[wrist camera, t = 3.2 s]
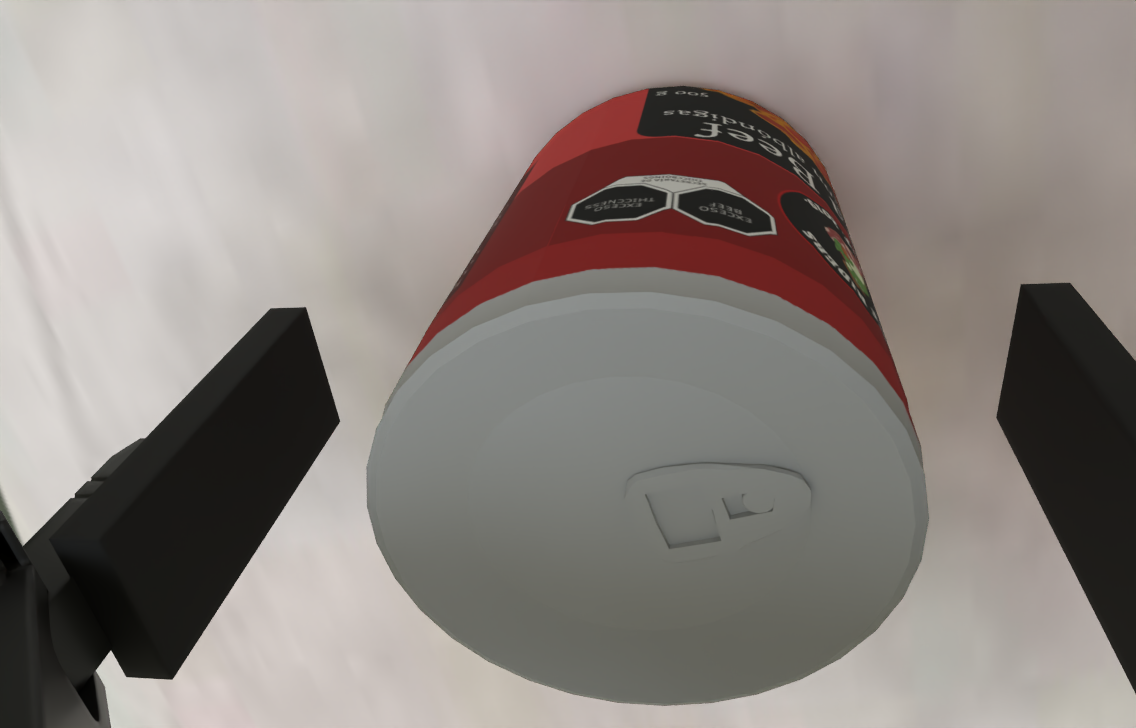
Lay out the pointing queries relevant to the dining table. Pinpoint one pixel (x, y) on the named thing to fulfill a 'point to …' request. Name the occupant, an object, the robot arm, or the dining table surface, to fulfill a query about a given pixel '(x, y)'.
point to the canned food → (656, 419)
